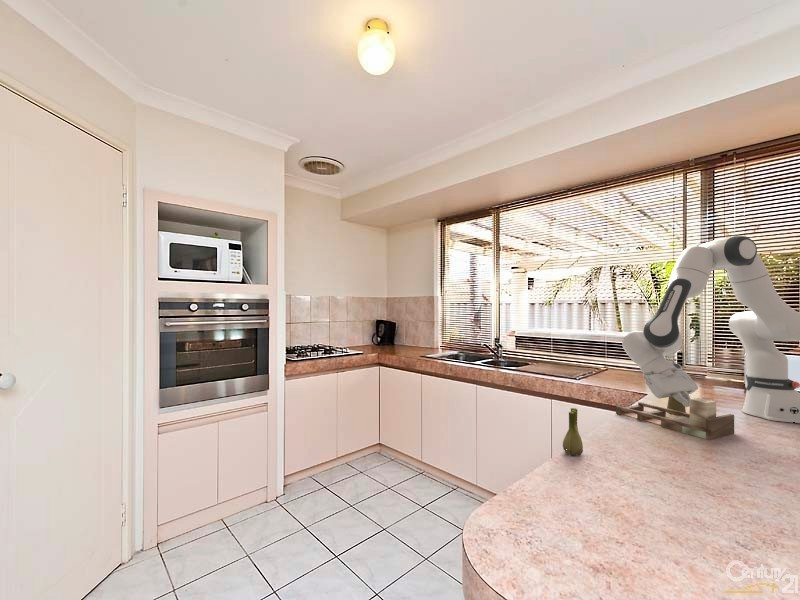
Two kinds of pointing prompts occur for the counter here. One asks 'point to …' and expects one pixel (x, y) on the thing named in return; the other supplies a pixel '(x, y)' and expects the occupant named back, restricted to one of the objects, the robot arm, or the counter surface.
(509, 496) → the counter surface
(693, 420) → the birch block
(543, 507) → the counter surface
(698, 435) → the trap box
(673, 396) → the robot arm
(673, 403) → the cork
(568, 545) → the counter surface
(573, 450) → the fennel bulb
